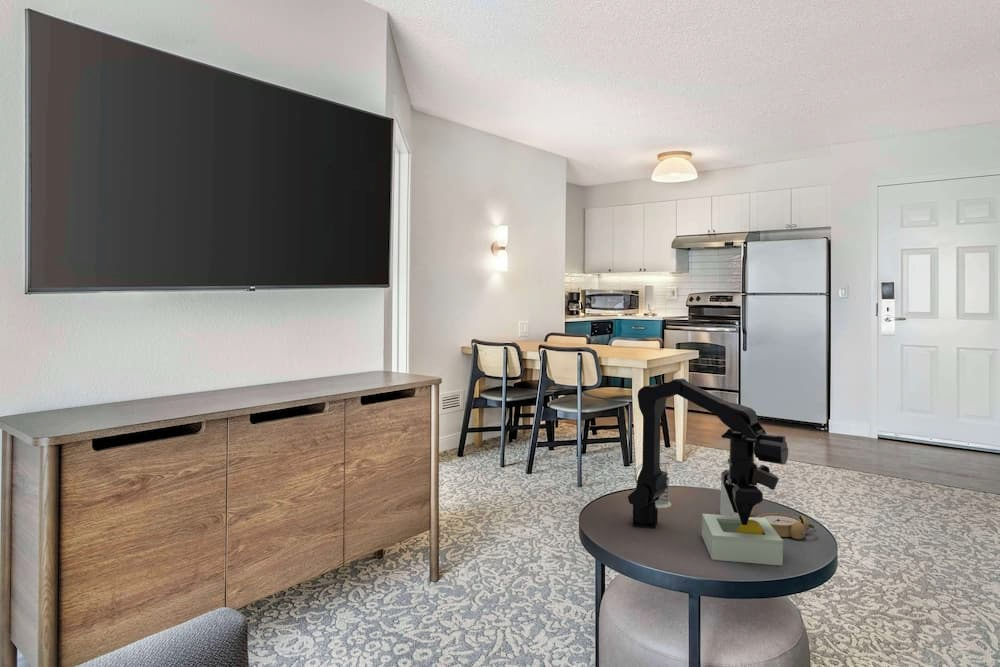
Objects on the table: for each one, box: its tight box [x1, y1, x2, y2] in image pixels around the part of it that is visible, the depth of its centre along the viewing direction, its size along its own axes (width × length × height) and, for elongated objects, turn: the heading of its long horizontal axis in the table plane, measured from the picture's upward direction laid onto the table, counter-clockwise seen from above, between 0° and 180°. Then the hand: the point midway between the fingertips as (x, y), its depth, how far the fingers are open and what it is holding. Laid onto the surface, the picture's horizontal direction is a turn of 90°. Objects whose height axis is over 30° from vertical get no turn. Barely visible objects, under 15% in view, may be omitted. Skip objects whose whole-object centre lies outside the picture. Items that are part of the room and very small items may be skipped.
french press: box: [634, 455, 672, 509], centre depth 185 cm, size 10×12×25 cm
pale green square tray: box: [701, 513, 784, 567], centre depth 148 cm, size 16×16×6 cm
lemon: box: [736, 520, 763, 535], centre depth 146 cm, size 6×6×8 cm
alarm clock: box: [756, 512, 817, 540], centre depth 161 cm, size 11×5×15 cm
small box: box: [719, 471, 755, 517], centre depth 175 cm, size 8×6×13 cm
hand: (740, 518), depth 148 cm, fingers open, 9 cm apart
